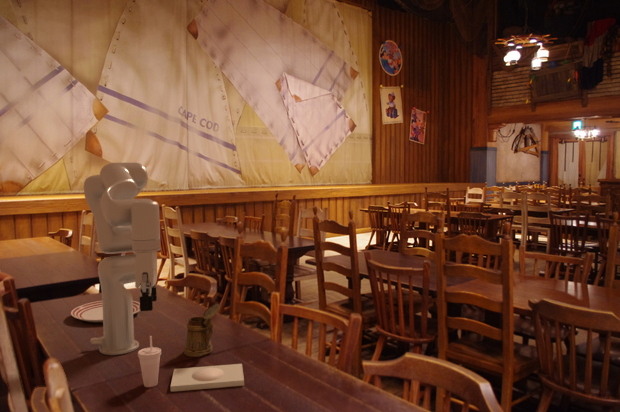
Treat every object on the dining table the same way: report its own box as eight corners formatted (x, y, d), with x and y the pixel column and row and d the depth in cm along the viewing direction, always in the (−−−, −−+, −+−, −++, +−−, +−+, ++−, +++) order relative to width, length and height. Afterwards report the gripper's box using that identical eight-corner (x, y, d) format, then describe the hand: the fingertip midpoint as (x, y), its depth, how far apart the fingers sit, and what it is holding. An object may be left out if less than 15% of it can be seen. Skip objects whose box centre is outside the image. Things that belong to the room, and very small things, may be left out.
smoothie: (155, 390, 140) (153, 340, 139) (134, 388, 141) (132, 339, 140) (166, 380, 146) (165, 333, 145) (146, 378, 147) (144, 331, 146)
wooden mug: (207, 362, 159) (206, 306, 158) (178, 353, 167) (177, 299, 165) (227, 353, 166) (226, 299, 165) (199, 345, 174) (197, 293, 173)
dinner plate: (156, 312, 214) (156, 304, 213) (99, 331, 191) (98, 322, 190) (115, 303, 228) (114, 296, 228) (57, 319, 205) (56, 311, 205)
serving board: (170, 391, 139) (170, 386, 139) (174, 373, 151) (174, 368, 150) (244, 385, 142) (243, 379, 142) (242, 368, 154) (241, 363, 154)
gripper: (136, 241, 148) (139, 298, 150) (127, 250, 131) (129, 315, 133) (163, 240, 150) (165, 297, 151) (157, 249, 133) (159, 313, 134)
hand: (148, 305), depth 142 cm, fingers open, 9 cm apart
